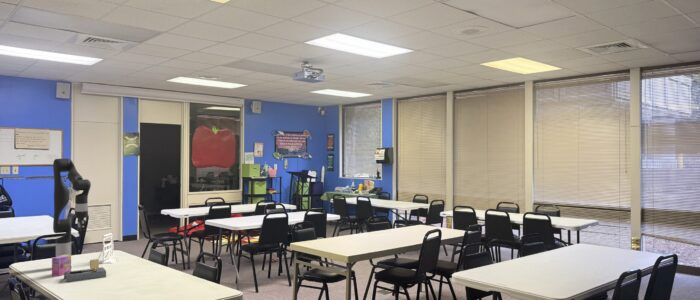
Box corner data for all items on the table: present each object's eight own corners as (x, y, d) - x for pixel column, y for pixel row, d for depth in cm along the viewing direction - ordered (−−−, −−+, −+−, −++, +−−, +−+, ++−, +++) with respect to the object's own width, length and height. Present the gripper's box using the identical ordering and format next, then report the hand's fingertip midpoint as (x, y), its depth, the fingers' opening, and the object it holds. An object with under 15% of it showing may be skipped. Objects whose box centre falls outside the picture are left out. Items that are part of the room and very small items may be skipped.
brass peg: (89, 276, 311) (89, 259, 311) (98, 275, 314) (98, 258, 314) (90, 277, 307) (90, 261, 307) (99, 276, 310) (99, 260, 310)
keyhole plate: (66, 282, 296) (66, 275, 296) (64, 278, 306) (64, 272, 306) (106, 276, 309) (106, 270, 309) (102, 273, 318) (102, 267, 318)
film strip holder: (113, 263, 348) (113, 235, 348) (94, 263, 348) (94, 235, 348) (123, 259, 362) (123, 232, 362) (104, 259, 362) (104, 232, 363)
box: (59, 276, 311) (59, 257, 311) (51, 276, 312) (51, 257, 313) (71, 272, 321) (71, 254, 322) (64, 272, 323) (64, 254, 323)
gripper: (73, 209, 321) (73, 233, 321) (76, 212, 309) (76, 237, 310) (86, 208, 325) (86, 232, 325) (89, 211, 314) (89, 236, 314)
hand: (81, 235), depth 317 cm, fingers open, 8 cm apart
